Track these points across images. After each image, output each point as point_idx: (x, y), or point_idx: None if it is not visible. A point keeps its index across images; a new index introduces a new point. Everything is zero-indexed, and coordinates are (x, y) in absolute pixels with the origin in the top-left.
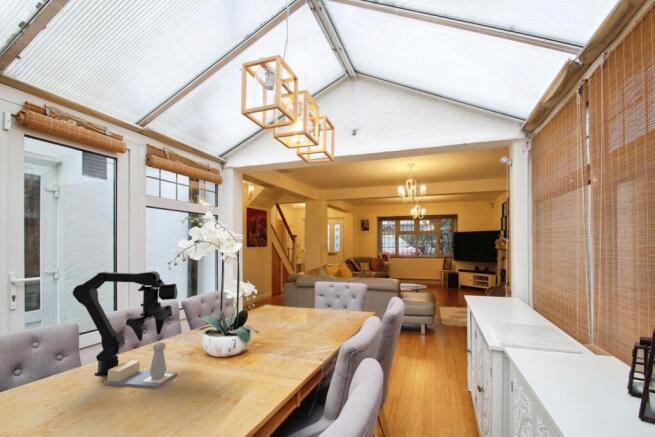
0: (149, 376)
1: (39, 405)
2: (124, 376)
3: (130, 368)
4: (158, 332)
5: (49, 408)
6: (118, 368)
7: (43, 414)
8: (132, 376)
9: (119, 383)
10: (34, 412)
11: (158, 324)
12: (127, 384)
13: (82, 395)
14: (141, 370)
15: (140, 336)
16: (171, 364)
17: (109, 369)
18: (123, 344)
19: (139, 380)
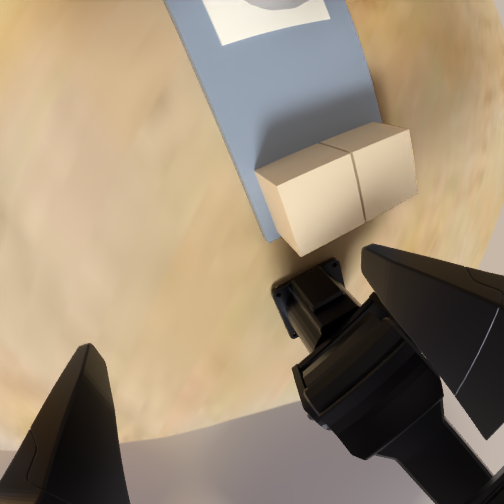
0: (269, 38)
1: (483, 191)
2: (354, 133)
3: (336, 151)
4: (96, 371)
5: (487, 150)
6: (394, 169)
7: (497, 131)
8: (314, 123)
9: (377, 106)
10: (496, 161)
11: (97, 487)
12: (364, 66)
13: (444, 151)
14: (241, 166)
15: (425, 257)
16: (58, 152)
17: (412, 196)
18: (330, 374)
19: (325, 41)
